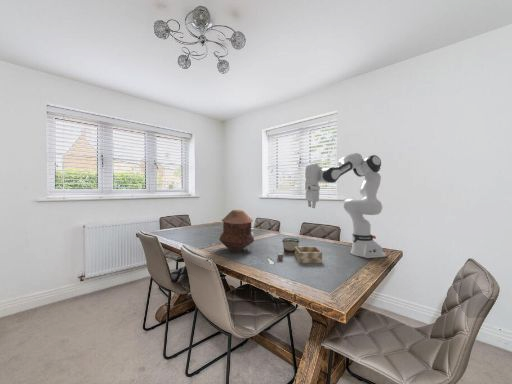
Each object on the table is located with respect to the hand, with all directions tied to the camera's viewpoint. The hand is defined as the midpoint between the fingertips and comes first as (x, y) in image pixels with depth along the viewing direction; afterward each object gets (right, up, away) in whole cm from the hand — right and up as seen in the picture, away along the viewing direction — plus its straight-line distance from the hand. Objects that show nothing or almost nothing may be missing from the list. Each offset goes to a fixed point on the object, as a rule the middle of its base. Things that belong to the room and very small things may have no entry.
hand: (311, 207), depth 159 cm
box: (-5, -33, -9) cm, 35 cm away
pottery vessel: (-52, -33, +14) cm, 63 cm away
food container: (-13, -33, +8) cm, 37 cm away
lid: (-23, -34, -10) cm, 42 cm away
